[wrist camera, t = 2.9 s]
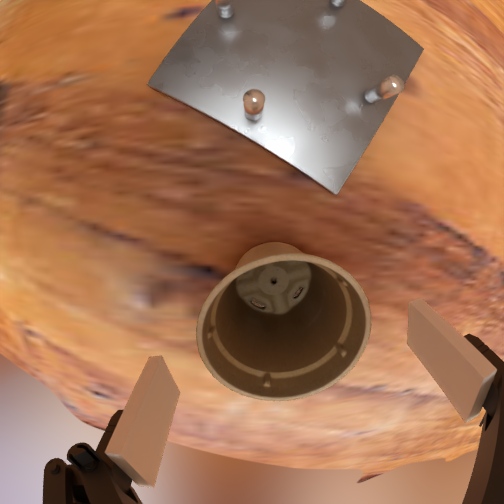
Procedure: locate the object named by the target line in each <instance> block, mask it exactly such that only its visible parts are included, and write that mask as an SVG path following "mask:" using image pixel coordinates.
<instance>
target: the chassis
mask: <svg viewBox="0 0 504 504" xmlns="http://www.w3.org/2000/svg"><path fill="white" fill-rule="evenodd" d="M423 50H424V48H422V47H421V46H420V45H419V44H418V43H417V42H416V41H414V40H413V39H412V38H411V37H410V36H408V35H407V34H406V33H405V32H403V31H402V30H401V29H400V28H398V27H397V26H396V25H395V24H393V23H392V22H391V21H389V20H388V19H386V18H385V17H384V16H382V15H381V14H379V13H378V12H377V11H375V10H374V9H372V8H371V7H369V6H368V5H366V4H365V3H363V2H362V1H360V0H212V1H211V2H210V3H209V4H208V5H207V6H206V8H205V9H204V10H203V11H202V12H201V13H200V14H199V15H198V17H197V18H196V19H195V20H194V21H193V23H192V24H191V25H190V26H189V27H188V29H187V30H186V31H185V32H184V33H183V35H182V36H181V37H180V39H179V40H178V41H177V42H176V44H175V45H174V46H173V48H172V49H171V50H170V52H169V53H168V54H167V56H166V57H165V59H164V60H163V61H162V63H161V64H160V66H159V67H158V69H157V70H156V72H155V73H154V74H153V76H152V77H151V79H150V81H149V82H148V84H147V85H148V86H149V87H151V88H152V89H154V90H156V91H159V92H161V93H163V94H165V95H167V96H169V97H171V98H173V99H175V100H177V101H179V102H181V103H183V104H185V105H187V106H189V107H191V108H193V109H195V110H197V111H199V112H201V113H203V114H205V115H206V116H208V117H210V118H212V119H214V120H216V121H218V122H219V123H221V124H223V125H225V126H227V127H228V128H230V129H232V130H234V131H235V132H237V133H239V134H241V135H242V136H244V137H246V138H247V139H249V140H251V141H252V142H254V143H256V144H258V145H259V146H261V147H262V148H264V149H266V150H267V151H269V152H271V153H272V154H274V155H275V156H277V157H279V158H280V159H282V160H283V161H285V162H286V163H288V164H290V165H291V166H293V167H294V168H296V169H297V170H299V171H300V172H302V173H303V174H305V175H306V176H308V177H309V178H311V179H312V180H314V181H315V182H317V183H318V184H319V185H321V186H322V187H324V188H325V189H327V190H328V191H329V192H331V193H332V194H335V195H337V194H338V192H339V191H340V189H341V188H342V186H343V185H344V183H345V181H346V180H347V178H348V177H349V175H350V174H351V172H352V170H353V169H354V167H355V166H356V164H357V162H358V161H359V159H360V158H361V156H362V154H363V153H364V151H365V150H366V148H367V146H368V145H369V143H370V141H371V140H372V138H373V137H374V135H375V133H376V132H377V130H378V128H379V127H380V125H381V123H382V122H383V120H384V118H385V117H386V115H387V113H388V112H389V110H390V108H391V106H392V105H393V103H394V101H395V100H396V98H397V96H398V94H399V93H400V92H402V91H403V90H404V84H405V82H406V80H407V79H408V77H409V75H410V73H411V71H412V70H413V68H414V66H415V64H416V62H417V61H418V59H419V57H420V55H421V53H422V51H423Z"/></svg>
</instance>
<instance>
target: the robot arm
mask: <svg viewBox="0 0 504 504" xmlns="http://www.w3.org/2000/svg"><path fill="white" fill-rule="evenodd" d="M407 344H408V346H409V347H410V348H411V349H412V351H413V352H414V353H415V355H416V356H417V357H418V358H419V360H420V361H421V362H422V364H423V365H424V366H425V368H426V369H427V370H428V372H429V373H430V374H431V376H432V377H433V378H434V380H435V381H436V382H437V384H438V385H439V386H440V388H441V389H442V390H443V392H444V393H445V395H446V396H447V397H448V399H449V400H450V402H451V403H452V404H453V406H454V407H455V409H456V410H457V412H458V413H459V414H460V416H461V417H462V419H463V420H464V422H465V423H467V422H468V421H470V420H472V419H473V418H475V417H477V416H478V415H479V413H480V411H481V409H482V407H484V409H485V410H486V413H485V415H484V417H483V419H482V421H481V423H480V425H479V426H482V424H483V427H482V433H481V438H480V443H479V448H478V453H477V457H476V461H475V465H474V468H473V472H472V476H471V479H470V482H469V486H468V489H467V492H466V494H465V498H464V500H463V503H462V504H504V362H503V361H502V360H501V359H500V358H499V357H498V356H497V355H496V354H495V353H494V352H493V351H492V350H491V349H489V347H488V346H487V345H485V344H484V343H483V342H482V341H481V340H480V339H479V338H478V337H476V336H473V335H471V334H467V335H465V336H463V335H462V334H461V333H459V332H458V331H457V330H456V329H455V328H454V327H453V326H452V325H451V324H450V323H449V322H447V321H446V320H445V319H444V318H443V317H442V316H441V315H440V314H439V313H437V312H436V311H435V310H434V309H433V308H432V307H431V306H430V305H428V304H427V303H426V302H425V301H424V300H423V299H421V298H418V299H415V300H412V301H409V309H408V333H407ZM179 395H180V391H179V389H178V387H177V385H176V383H175V381H174V379H173V377H172V375H171V373H170V371H169V369H168V367H167V365H166V363H165V361H164V359H163V357H162V356H154V357H149V359H148V361H147V363H146V365H145V367H144V369H143V371H142V373H141V375H140V377H139V379H138V381H137V383H136V385H135V387H134V390H133V392H132V394H131V396H130V398H129V400H128V402H127V404H126V406H125V409H124V410H118V411H117V412H116V413H115V414H114V415H113V416H112V417H111V419H110V421H109V423H108V426H107V428H106V430H105V432H104V434H103V436H102V438H101V440H100V442H99V444H98V447H97V449H96V451H94V450H93V449H92V447H91V446H90V445H89V444H87V443H78V444H75V445H74V446H72V447H71V448H70V449H69V451H68V453H67V460H68V461H69V462H71V463H72V464H71V465H67V464H66V463H65V462H64V461H63V460H62V459H59V458H54V459H52V460H50V461H49V462H48V463H47V464H46V466H45V469H44V482H43V504H142V502H141V500H140V499H139V497H138V496H137V494H136V492H135V490H134V489H133V488H132V487H131V482H132V480H133V481H134V482H135V483H136V484H137V485H138V486H143V487H150V488H154V486H155V482H156V478H157V474H158V471H159V467H160V463H161V459H162V456H163V451H164V448H165V445H166V441H167V437H168V434H169V430H170V426H171V423H172V419H173V416H174V412H175V409H176V405H177V402H178V398H179Z"/></svg>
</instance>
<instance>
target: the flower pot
mask: <svg viewBox="0 0 504 504" xmlns="http://www.w3.org/2000/svg"><path fill="white" fill-rule="evenodd" d="M245 272H246V273H245ZM271 280H276V283H275V284H272V283H271ZM299 288H303V289H302V291H301V293H300V294H299V296H298V297H297V298H294V296H295V294H296V291H298V289H299ZM252 300H253V301H255V302H257V303H259V304H261V305H264V306H265V308H258V307H256V306H254V305H253V304H252V302H251V301H252ZM370 331H371V310H370V306H369V302H368V299H367V297H366V295H365V293H364V291H363V289H362V287H361V286H360V285H359V283H358V282H357V281H356V280H355V278H354V277H353V276H352V275H350V274H349V273H348V272H347V271H346V270H344V269H343V268H342V267H340V266H339V265H337V264H335V263H333V262H331V261H329V260H327V259H324V258H321V257H318V256H314V255H310V254H304V253H302V252H301V251H300V250H299V249H297V248H296V247H294V246H292V245H289V244H286V243H282V242H269V243H264V244H260V245H258V246H255V247H253V248H252V249H250V250H249V251H247V252H246V253H245V254H244V255H243V256H242V257H241V259H240V260H239V262H238V264H237V266H236V268H235V270H234V271H232V272H231V273H229V274H228V275H227V276H226V277H224V278H223V279H222V280H221V281H220V282H219V283H218V284H217V285H216V286H215V287H214V289H213V290H212V291H211V292H210V294H209V295H208V297H207V298H206V300H205V302H204V304H203V306H202V309H201V311H200V314H199V317H198V321H197V328H196V339H197V345H198V350H199V353H200V357H201V358H202V361H203V362H204V364H205V366H206V368H207V369H208V370H209V371H210V373H211V374H212V375H213V377H214V378H216V379H217V380H218V381H219V382H220V383H222V384H223V385H224V386H226V387H227V388H229V389H230V390H232V391H235V392H237V393H239V394H241V395H244V396H247V397H251V398H255V399H259V400H266V401H288V400H295V399H300V398H304V397H308V396H311V395H314V394H317V393H319V392H321V391H323V390H325V389H327V388H329V387H331V386H332V385H334V384H336V383H337V382H338V381H339V380H341V379H342V378H343V377H344V376H345V375H347V374H348V373H349V371H350V370H351V369H352V368H353V367H354V366H355V365H356V363H357V361H359V358H360V357H361V356H362V354H363V352H364V350H365V348H366V345H367V342H368V340H369V335H370Z"/></svg>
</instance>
